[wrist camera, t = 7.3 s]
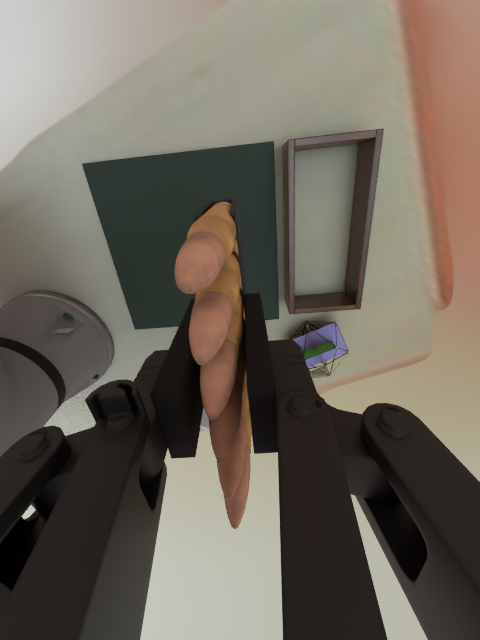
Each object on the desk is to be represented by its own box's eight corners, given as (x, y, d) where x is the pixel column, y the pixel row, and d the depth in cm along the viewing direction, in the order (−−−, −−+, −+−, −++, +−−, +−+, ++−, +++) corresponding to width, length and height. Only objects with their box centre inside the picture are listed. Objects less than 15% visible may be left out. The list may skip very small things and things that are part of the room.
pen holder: (285, 301, 34) (289, 314, 31) (282, 145, 27) (287, 139, 23) (348, 296, 34) (360, 309, 30) (365, 135, 26) (384, 128, 22)
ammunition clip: (206, 201, 15) (123, 242, 5) (237, 197, 15) (228, 231, 4) (227, 352, 20) (212, 542, 9) (252, 351, 20) (263, 540, 9)
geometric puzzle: (275, 321, 33) (297, 381, 30) (326, 299, 32) (357, 359, 28) (288, 338, 40) (308, 389, 36) (331, 319, 38) (357, 371, 34)
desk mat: (136, 328, 37) (135, 329, 36) (83, 164, 28) (81, 163, 27) (278, 317, 36) (278, 319, 35) (273, 141, 26) (273, 141, 26)
